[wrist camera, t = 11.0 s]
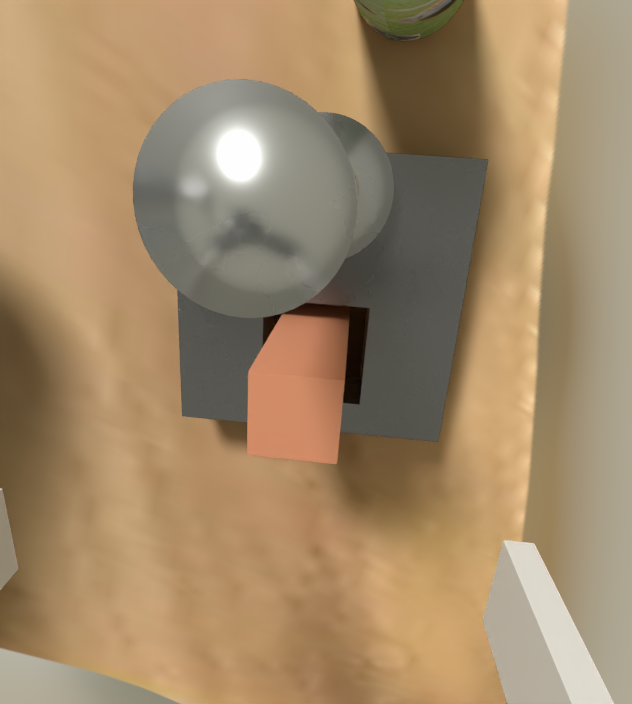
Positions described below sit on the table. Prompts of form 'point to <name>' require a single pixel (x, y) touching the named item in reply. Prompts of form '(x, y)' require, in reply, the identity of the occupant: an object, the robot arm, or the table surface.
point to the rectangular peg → (299, 386)
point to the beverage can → (407, 16)
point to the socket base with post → (306, 247)
